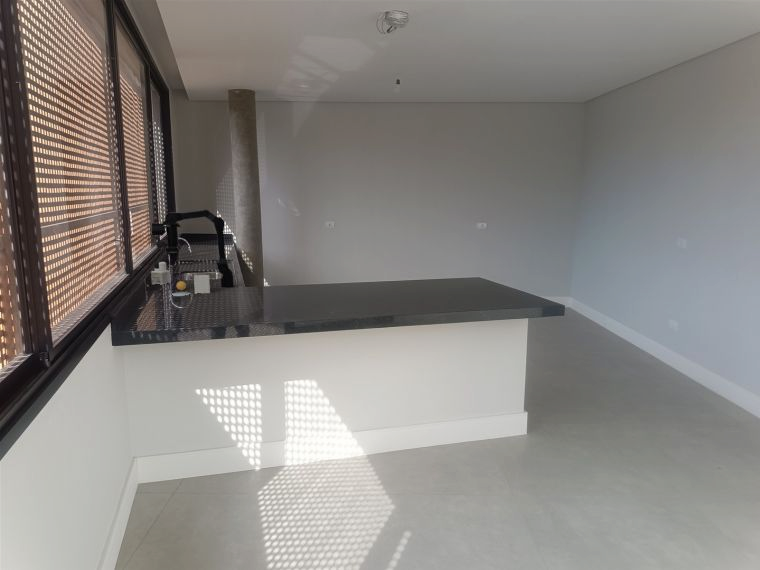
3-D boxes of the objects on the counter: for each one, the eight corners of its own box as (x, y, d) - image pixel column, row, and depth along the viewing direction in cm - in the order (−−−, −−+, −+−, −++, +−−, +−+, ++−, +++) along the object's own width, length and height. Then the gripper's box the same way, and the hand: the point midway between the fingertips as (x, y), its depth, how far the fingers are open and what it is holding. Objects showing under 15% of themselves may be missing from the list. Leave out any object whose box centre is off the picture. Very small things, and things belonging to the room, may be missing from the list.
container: (151, 284, 309) (149, 262, 307) (160, 282, 317) (159, 260, 314) (162, 285, 307) (161, 263, 305) (171, 282, 314) (169, 261, 312)
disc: (190, 291, 287) (190, 291, 287) (190, 295, 278) (190, 295, 278) (171, 293, 284) (171, 292, 284) (170, 296, 275) (170, 296, 275)
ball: (186, 289, 295) (185, 280, 294) (186, 290, 291) (185, 281, 290) (176, 289, 294) (176, 280, 293) (176, 291, 289) (176, 282, 288)
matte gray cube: (209, 290, 292) (208, 274, 290) (209, 292, 285) (209, 277, 283) (195, 291, 290) (194, 275, 288) (194, 293, 282) (193, 277, 281)
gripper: (158, 234, 297) (160, 261, 299) (154, 237, 279) (157, 266, 282) (179, 233, 300) (180, 260, 303) (177, 236, 283) (179, 265, 285)
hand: (174, 263), depth 293 cm, fingers open, 9 cm apart
